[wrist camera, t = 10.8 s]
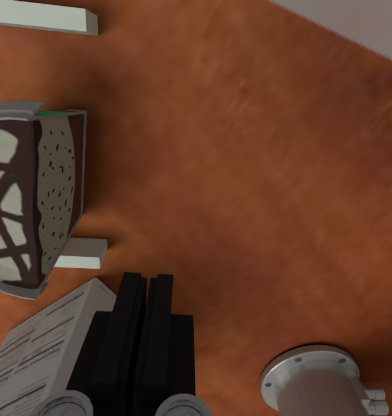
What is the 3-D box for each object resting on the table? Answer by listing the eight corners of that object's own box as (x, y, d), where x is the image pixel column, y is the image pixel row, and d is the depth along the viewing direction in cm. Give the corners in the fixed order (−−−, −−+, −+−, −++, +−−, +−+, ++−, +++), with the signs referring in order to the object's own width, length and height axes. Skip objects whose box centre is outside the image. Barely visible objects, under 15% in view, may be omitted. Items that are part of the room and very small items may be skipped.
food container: (2, 72, 22) (-122, 78, 13) (87, 90, 23) (27, 107, 14) (12, 218, 27) (-71, 295, 18) (82, 228, 28) (35, 306, 19)
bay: (97, 16, 21) (85, 8, 18) (107, 249, 29) (99, 268, 26) (-108, -8, 20) (-154, -19, 17) (-36, 242, 28) (-59, 261, 25)
